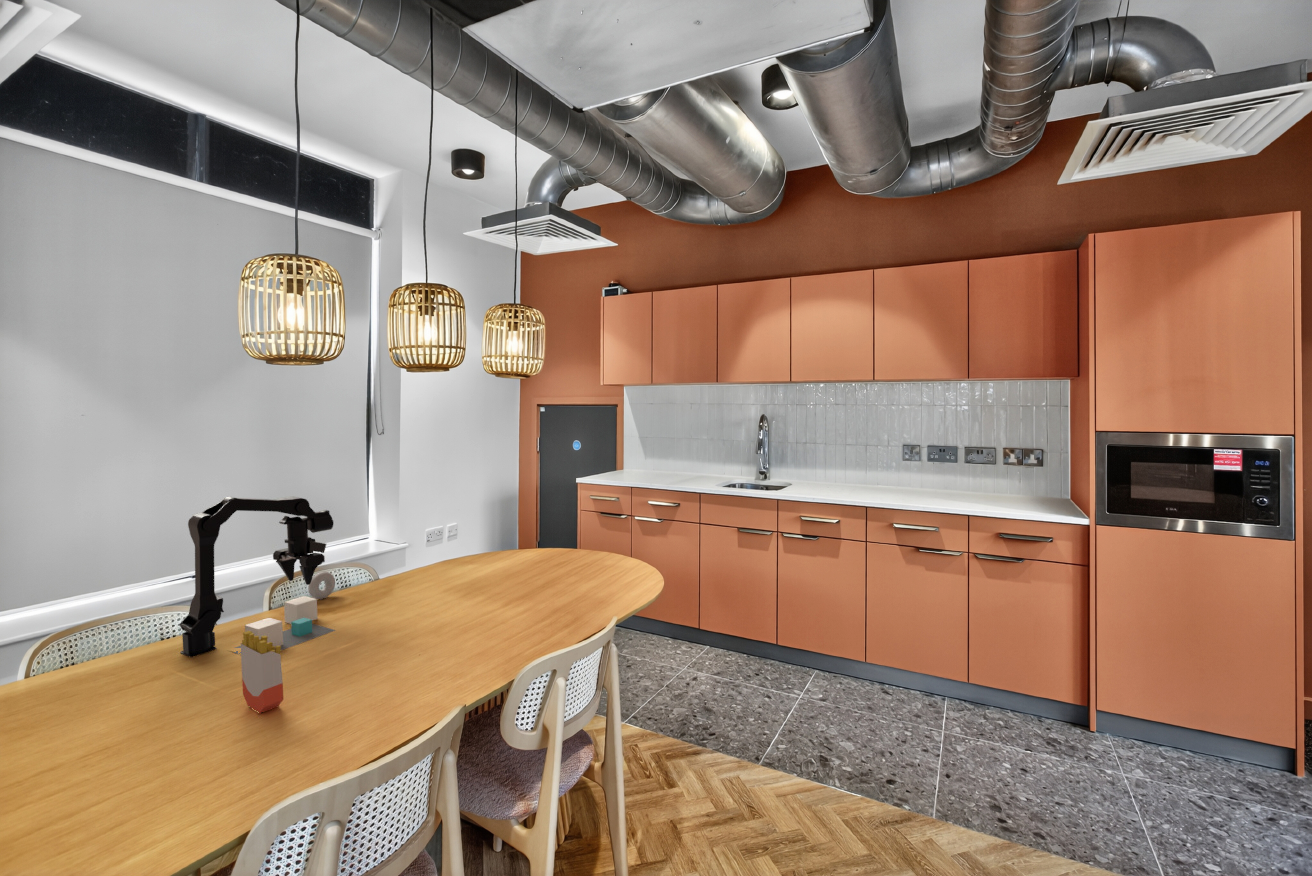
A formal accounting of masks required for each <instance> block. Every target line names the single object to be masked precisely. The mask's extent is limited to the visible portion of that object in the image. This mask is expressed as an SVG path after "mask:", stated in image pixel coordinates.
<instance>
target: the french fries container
mask: <svg viewBox="0 0 1312 876" xmlns="http://www.w3.org/2000/svg"><path fill="white" fill-rule="evenodd" d="M242 635H243V636H242V638H243V639H242V640H241V643H240V646H241V655H240V660H241V662H240V663H241V682H242V683H241V684H242V695H243V697H244V700H245V702H246V704H247V705H246V706H247V707H248V706H250V707H251V708H253V709H254V710H256V711H258V712H259V713H260V714H262V713H261V712H263V713H265V712H267V711H266V710H268V711H270V710H272V709H271V708H273V709H274V707H275V708H277V706H278V707H279V706H280V704H281V703H282V702H283V700H284V681H283V671H282V660H281V659H282V658H281V651H282V650H281V646H276V647H275V646H273V642H268V643H267V638H268V637H267V636H266V635H265V636H261V639H259V636H254V634H253V633H252V632H251V631H247V632H245V631H244V632H242ZM280 650H281V651H280ZM251 708H250V709H251ZM269 709H270V710H269ZM254 710H253V711H254ZM264 711H265V712H264Z"/></svg>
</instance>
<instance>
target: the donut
mask: <svg viewBox="0 0 1312 876" xmlns="http://www.w3.org/2000/svg"><path fill="white" fill-rule="evenodd" d="M322 582H324V587H323V588H322V589H320V585H321V583H322ZM335 587H336V579H335V577H334V575H333V574H332V573H331V572H328V571H320V572H317V573H316V574H315V575H313V577H312V580H311V583H310V584H309V585H308V587H307V589H308V594H309V595H310V597H311V598H315V599H317V600H318V599H320V600H324V599H326V598H328V597H329V596H330V595H332V593H333V592H334V590H335ZM323 598H324V599H323Z"/></svg>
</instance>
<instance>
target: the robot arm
mask: <svg viewBox="0 0 1312 876" xmlns="http://www.w3.org/2000/svg"><path fill="white" fill-rule="evenodd" d="M237 511H240V512H244V511H245V512H273V513H274V512H278V513H281V514H287V515H284V516H283V518H282V519H281V520H280V521H279V522H278V523H279V524H281V525H286V533H287V534H286V535H287V537H286V538H287V539H284V543H285V544H287V547H286V548H282V549H281V548H280V549H278V550H277V549H276V550H275V551H274V553H273V554H272V558H273V561H274V560H275V563H276V564H278V566H279V567H280V569H281V570H282V571H283V573H284V574H285V576H286V578H287V579H288V581H289V582H291V581H293V580H294V577H295V563H296V562H297V561H298V560H299V561H298V562H299V568H300V569H299V570H300V571H301V574H302V577H303V580H304V583H305V585H306V586H309V584H310V583H311V580H312V578H313V577H314V574H315V572H316V569H317V568H318V567H319V566H322V563H325V561H326V560H325V558H326V557H325V555H324V553H325V552H326V547H327V543H324V542H318V541H316V539H315V538H312V537H309V532H311V533H313V534H315V533H320V532H325V531H329V530H330V531H331V530H332V529H333V527H334V520H333V517H332V515H331V513H330V510H328V509H324V510H320V511H314V509H313V508H311V506H310V502H309V501H308V499H307V498H302V497H298V496H286V497H280V498H275V499H274V498H273V499H271V498H270V499H269V498H251V497H250V498H249V497H247V498H245V497H234V496H227V497H225V498H223V499H221V500H220V501H219V502H218V503H216V504H215V503H214V505H211V506H210V507H208V508H206V509H204V510H203V511H202V512H199V513H196V514H194V515H192V516H191V517H190V518H189V519H188V522H187V526H188V527H187V528H188V531H189V535H190V538H191V540H192V542H193V545H194V584H195V585H194V588H195V589H194V590H195V591H194V595H193V597H192V600H191V601H190V605H189V610H188V614H187V616H186V617H184V619H183V620H182V621H181V622H180V623H179V627H180V628H181V630H182V631H183V632H182V635H181V636H182V651H180V654H181V655H184V656H186V657H189V656H190V657H189V658H194V657H193V656H195V657H197V655H198V656H200V655H203V654H207V653H209V652H212V650H213V651H214V650H215V649H216V650H217V649H218V648H217V646H216V634H215V633H216V632H215V631H214V629H215V626H216V623H217V622H218V621H219V620H220V619H221V618H222V613H224V612H225V611H224V609H223V605H224V598H223V597H221V596H218V595H216V592H215V545H216V542H217V540H218V537H219V535H220V529H221V526H222V525H223V524H225V523H226V522H227V521H229V519H230V518H231V517H232V516H233V514H234V513H236V512H237ZM288 515H292V516H293V517H290V516H288ZM308 531H309V532H308Z"/></svg>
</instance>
